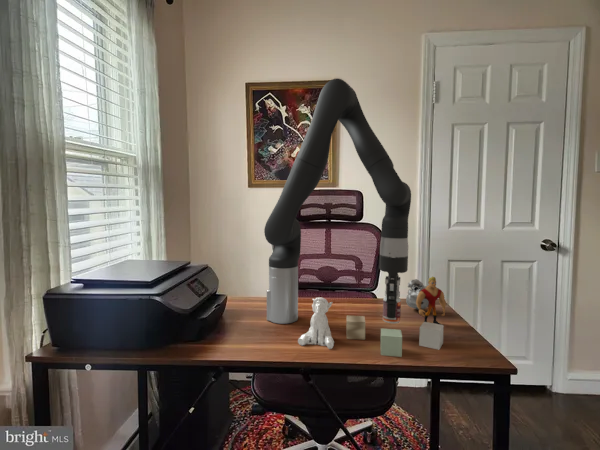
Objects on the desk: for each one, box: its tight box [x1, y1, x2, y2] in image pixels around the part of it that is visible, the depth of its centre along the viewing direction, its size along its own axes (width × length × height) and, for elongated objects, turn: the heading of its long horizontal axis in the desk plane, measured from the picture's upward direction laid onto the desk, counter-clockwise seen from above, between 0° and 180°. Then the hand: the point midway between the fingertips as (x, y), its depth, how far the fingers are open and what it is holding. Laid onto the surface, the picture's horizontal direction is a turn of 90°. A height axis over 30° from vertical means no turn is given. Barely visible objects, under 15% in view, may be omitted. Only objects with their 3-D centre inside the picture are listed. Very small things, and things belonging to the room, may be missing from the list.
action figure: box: [416, 276, 447, 325], centre depth 108 cm, size 10×4×15 cm, turn 97°
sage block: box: [380, 327, 403, 358], centre depth 88 cm, size 5×5×5 cm
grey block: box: [418, 321, 445, 351], centre depth 93 cm, size 5×5×5 cm
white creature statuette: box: [297, 296, 335, 350], centre depth 95 cm, size 10×9×12 cm
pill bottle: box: [382, 289, 402, 325], centre depth 98 cm, size 5×5×8 cm
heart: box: [405, 278, 429, 311], centre depth 120 cm, size 10×10×12 cm
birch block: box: [345, 315, 366, 341], centre depth 99 cm, size 5×5×5 cm
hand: (391, 314), depth 98 cm, fingers closed on pill bottle, 4 cm apart
